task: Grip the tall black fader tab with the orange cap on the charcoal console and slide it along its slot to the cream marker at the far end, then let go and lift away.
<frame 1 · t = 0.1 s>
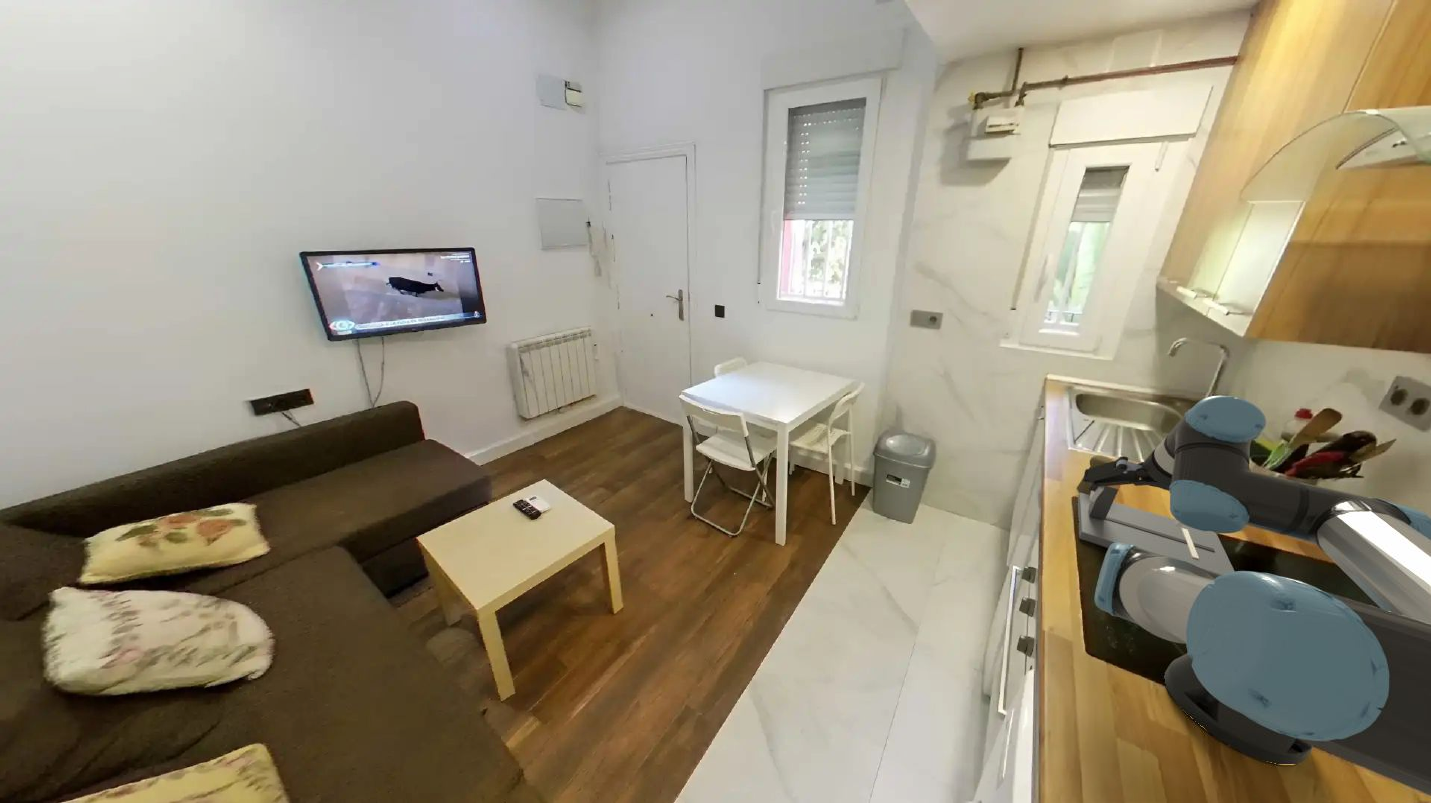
hand: (1133, 507, 92), 15 cm above the worktop, tool tilted 35°, fingers open, 13 cm apart
cork: (1089, 492, 124), on the worktop
console: (1145, 537, 106), on the worktop
fader tab: (1104, 496, 108), point 8 cm above the worktop, slide at 0.0 cm
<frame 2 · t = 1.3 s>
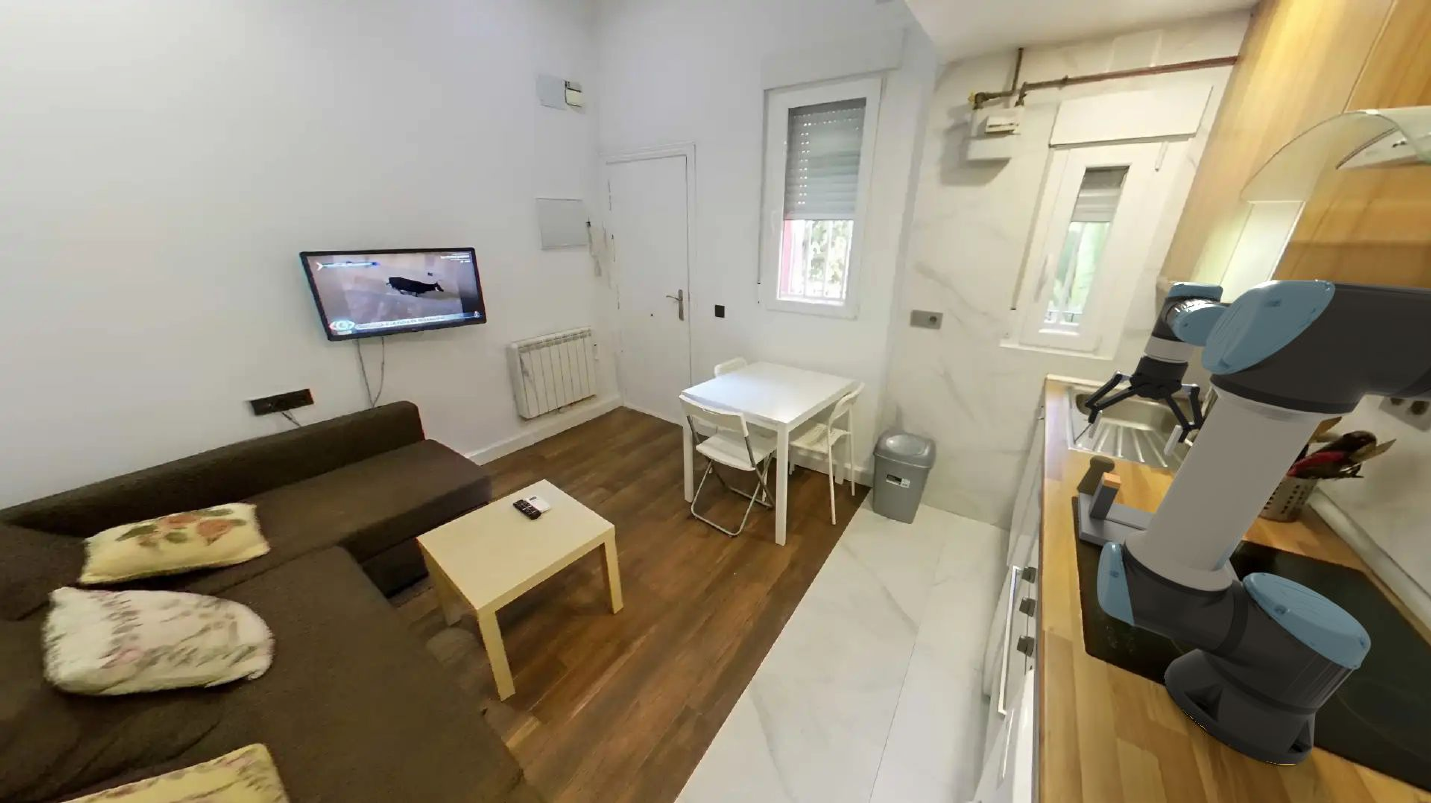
hand: (1127, 444, 103), 22 cm above the worktop, tool pointing down, fingers open, 13 cm apart
nothing on the worktop moved.
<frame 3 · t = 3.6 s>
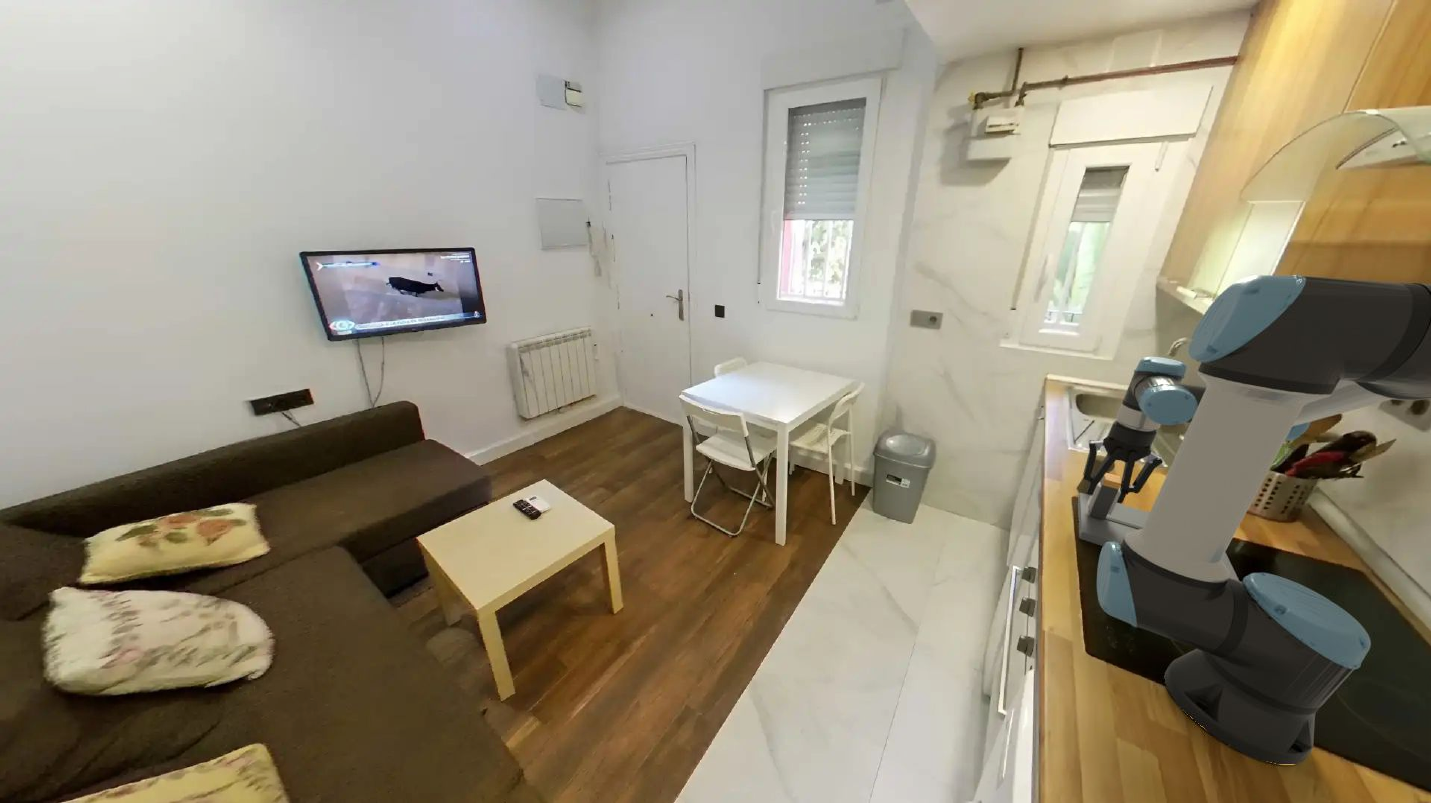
hand: (1098, 508, 110), 4 cm above the worktop, tool pointing down, fingers closed on fader tab, 3 cm apart
fader tab: (1104, 496, 108), point 8 cm above the worktop, slide at 0.0 cm, touching gripper
everything else where it was.
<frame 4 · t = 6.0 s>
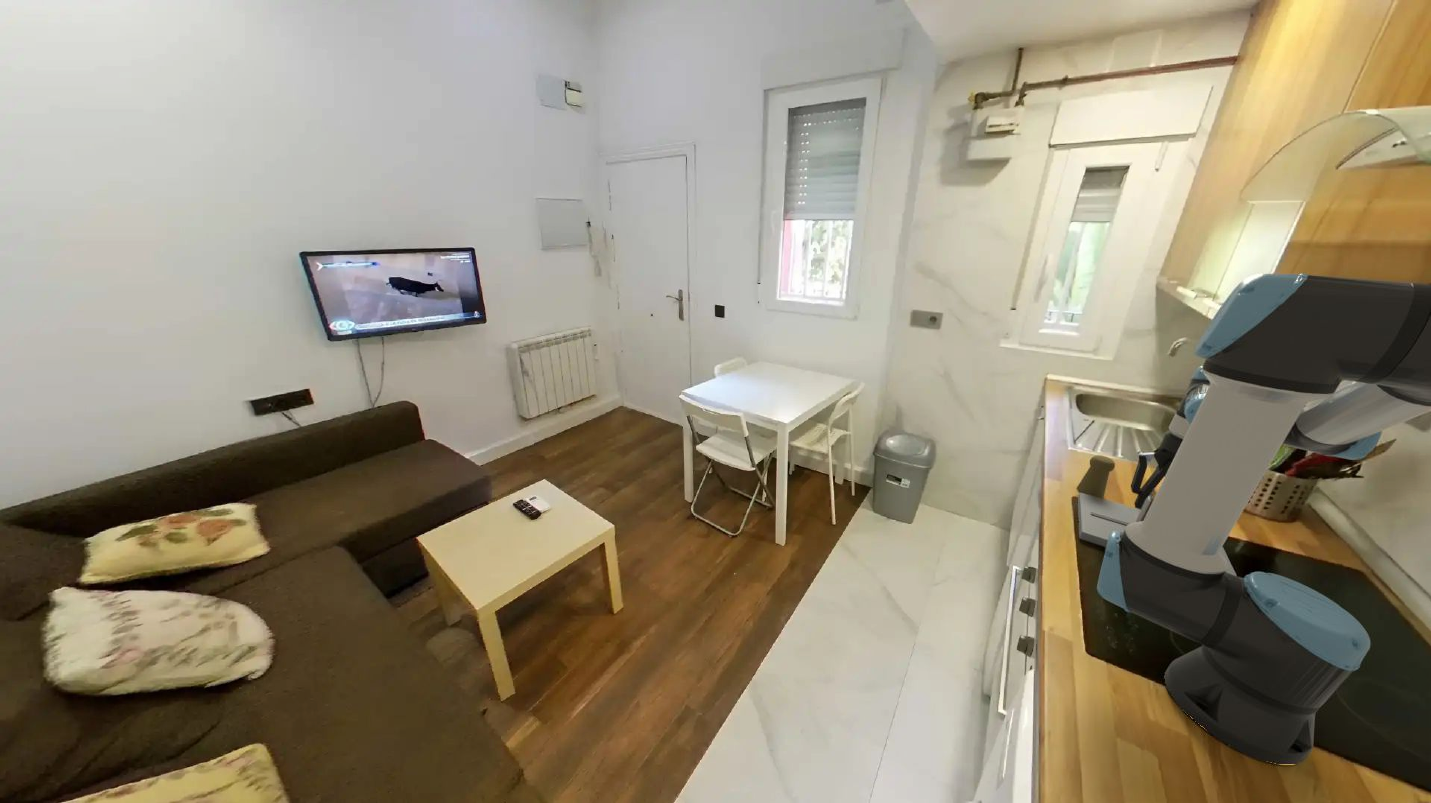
hand: (1147, 522, 105), 4 cm above the worktop, tool pointing down, fingers closed on fader tab, 3 cm apart
fader tab: (1153, 509, 104), point 8 cm above the worktop, slide at 9.0 cm, touching gripper
everything else where it was.
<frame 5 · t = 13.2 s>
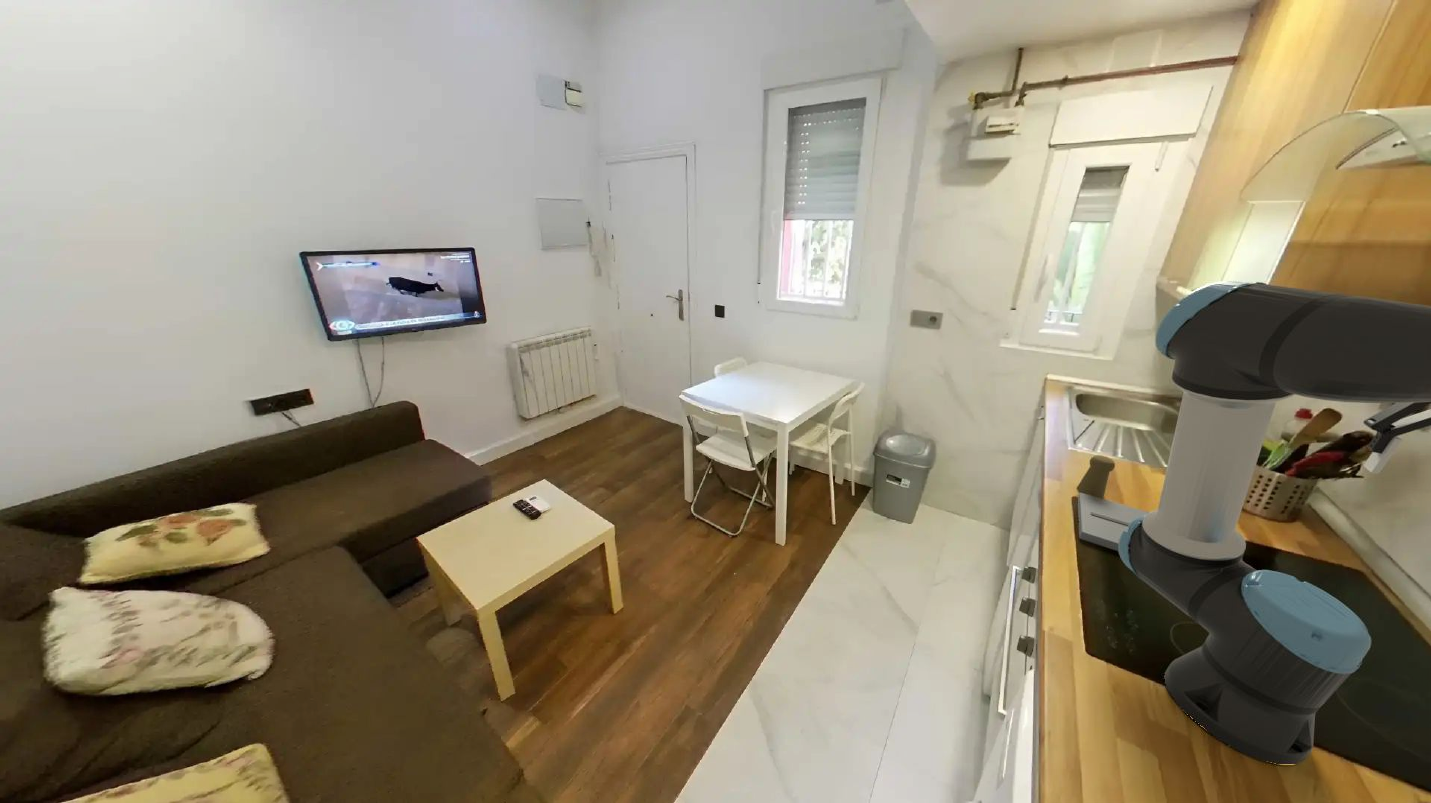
fader tab: (1200, 523, 99), point 8 cm above the worktop, slide at 17.0 cm
everything else where it was.
at the end: fader tab slide at 17.0 cm; the gripper is holding nothing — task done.
